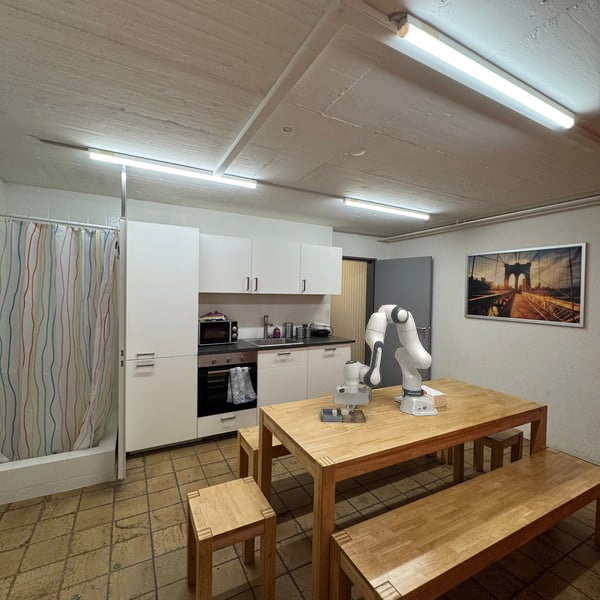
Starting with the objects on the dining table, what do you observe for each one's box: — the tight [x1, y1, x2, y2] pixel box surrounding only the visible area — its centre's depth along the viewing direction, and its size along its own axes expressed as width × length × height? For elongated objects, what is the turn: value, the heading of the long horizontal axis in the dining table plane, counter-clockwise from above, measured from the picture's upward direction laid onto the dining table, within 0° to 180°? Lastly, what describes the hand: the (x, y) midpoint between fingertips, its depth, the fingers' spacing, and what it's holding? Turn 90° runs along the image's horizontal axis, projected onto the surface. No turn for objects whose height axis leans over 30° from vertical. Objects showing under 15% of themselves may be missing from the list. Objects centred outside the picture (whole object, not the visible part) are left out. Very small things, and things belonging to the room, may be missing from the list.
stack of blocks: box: [349, 383, 373, 409], centre depth 209 cm, size 21×6×12 cm, turn 143°
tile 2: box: [340, 407, 349, 415], centre depth 182 cm, size 4×4×2 cm
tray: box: [320, 408, 343, 423], centre depth 182 cm, size 11×11×4 cm
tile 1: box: [331, 408, 337, 416], centre depth 182 cm, size 4×4×2 cm
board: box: [339, 408, 367, 424], centre depth 182 cm, size 13×12×3 cm
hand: (350, 411), depth 182 cm, fingers closed
